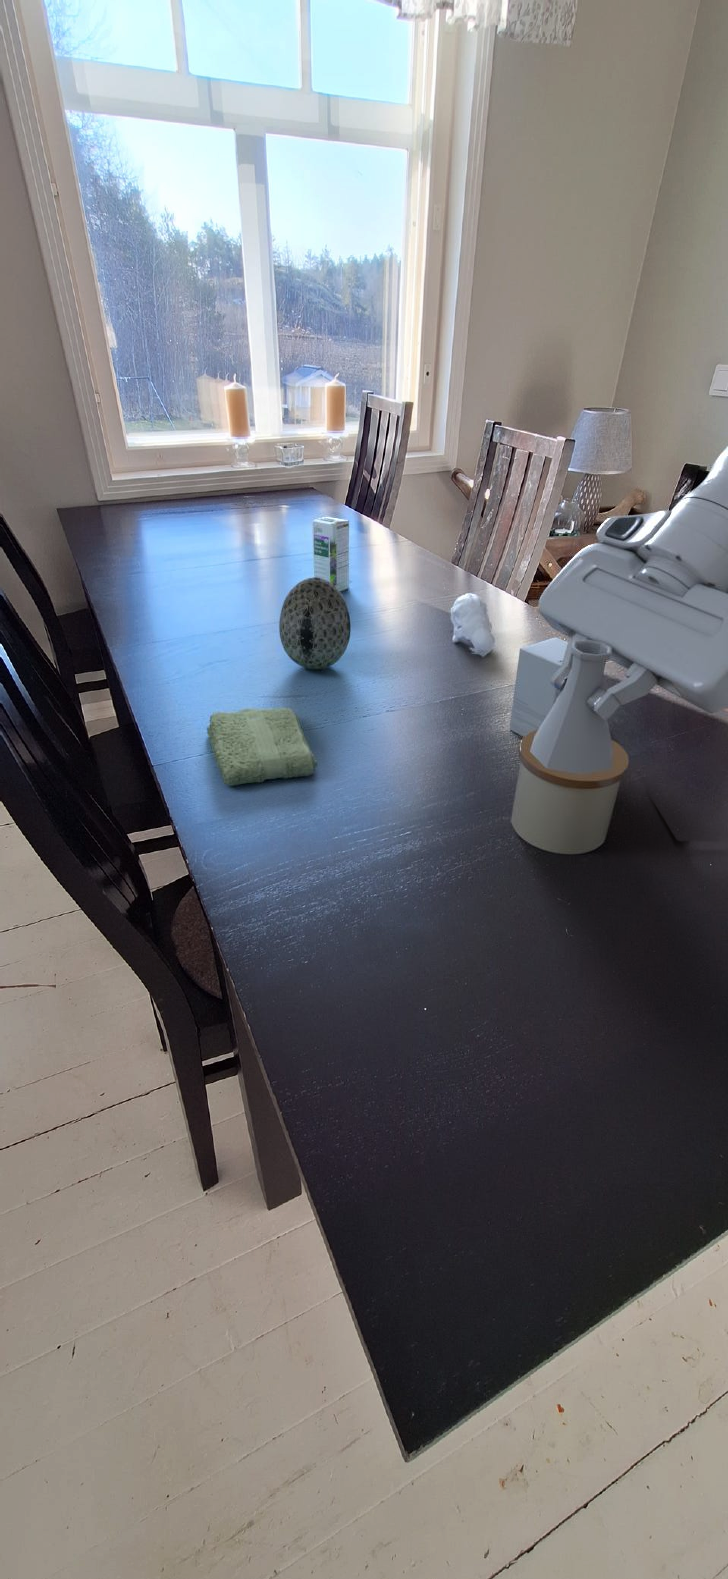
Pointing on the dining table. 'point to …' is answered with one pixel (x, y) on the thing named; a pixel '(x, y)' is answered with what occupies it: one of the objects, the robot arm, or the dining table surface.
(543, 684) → the white packaging box
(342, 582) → the syrup box
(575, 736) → the flask
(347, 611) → the decorative egg
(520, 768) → the canister
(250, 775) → the washcloth
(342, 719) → the dining table surface
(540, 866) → the dining table surface
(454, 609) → the white bust
